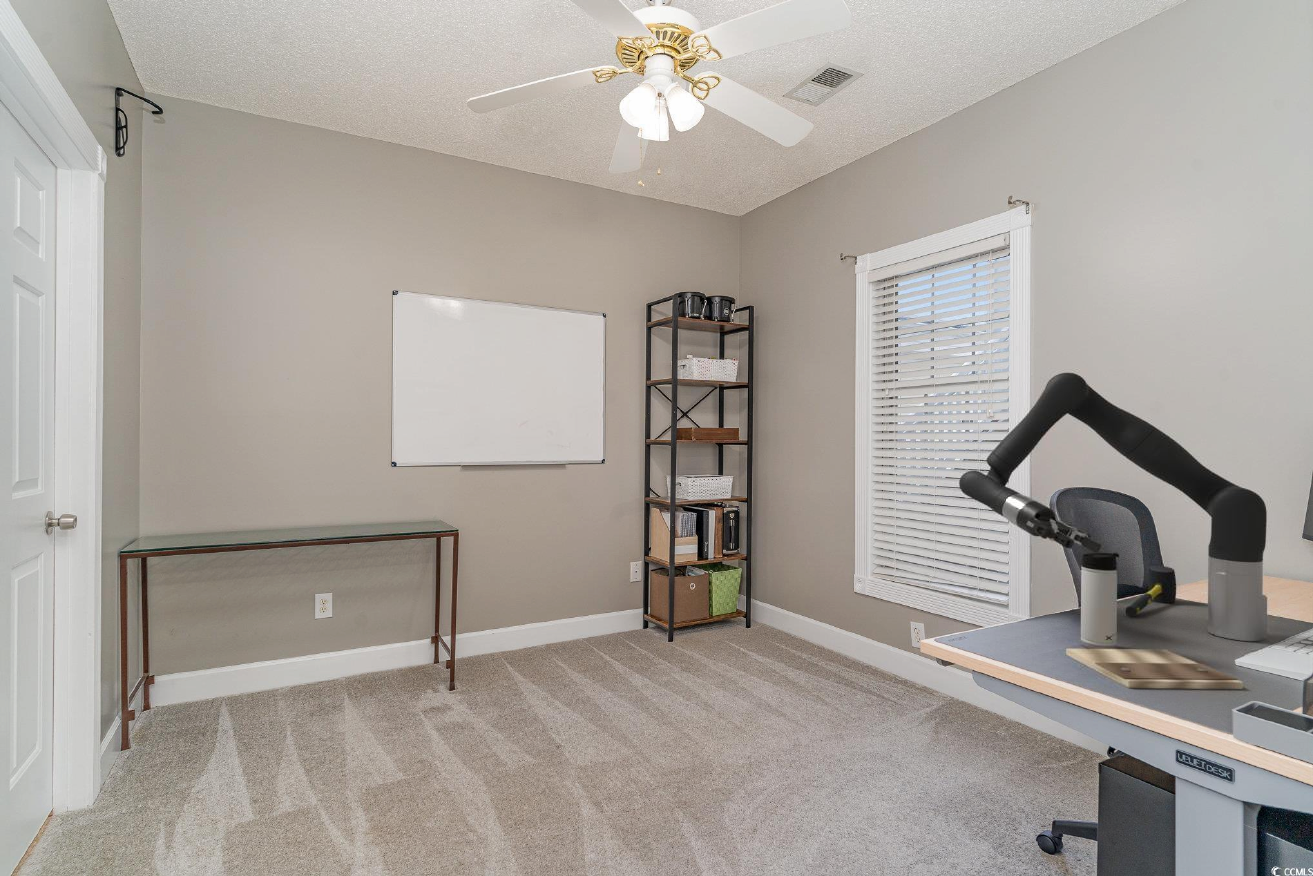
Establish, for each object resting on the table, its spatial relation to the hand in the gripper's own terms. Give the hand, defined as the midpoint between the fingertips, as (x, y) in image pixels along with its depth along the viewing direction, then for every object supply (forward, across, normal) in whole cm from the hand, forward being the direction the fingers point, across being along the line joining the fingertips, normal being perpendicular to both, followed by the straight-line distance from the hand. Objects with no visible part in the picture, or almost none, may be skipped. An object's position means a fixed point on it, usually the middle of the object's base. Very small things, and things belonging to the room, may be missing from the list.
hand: (1085, 546), depth 148 cm
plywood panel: (+25, -6, +13) cm, 29 cm away
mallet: (-6, +42, +17) cm, 46 cm away
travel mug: (+13, -1, +17) cm, 21 cm away
